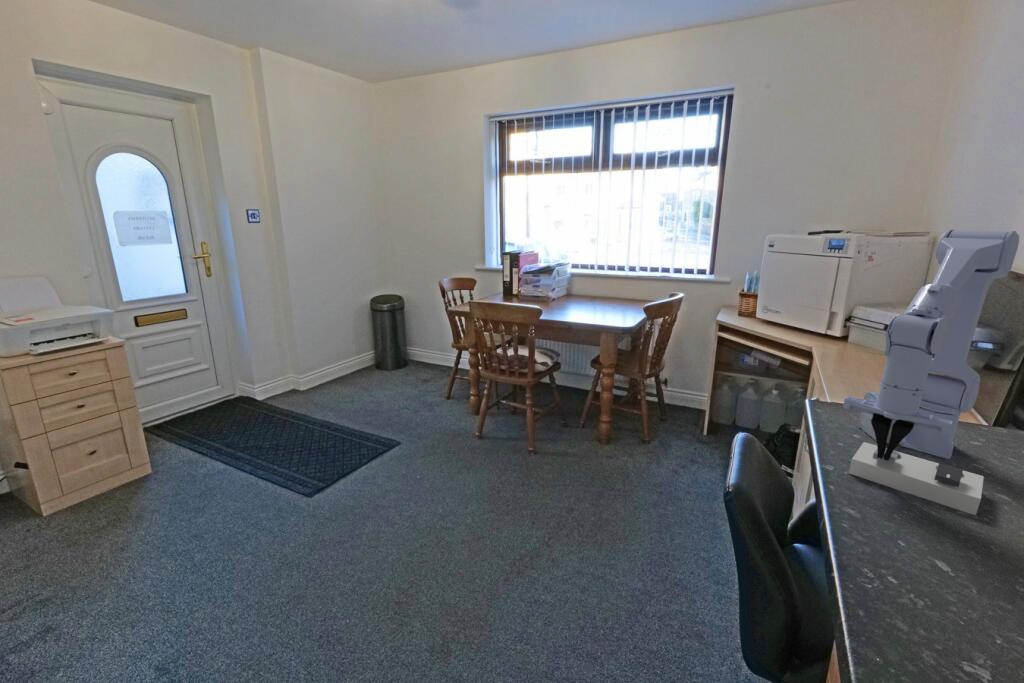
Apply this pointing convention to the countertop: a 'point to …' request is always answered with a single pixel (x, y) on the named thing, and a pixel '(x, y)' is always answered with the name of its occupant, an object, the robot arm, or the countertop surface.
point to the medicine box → (866, 419)
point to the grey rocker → (891, 460)
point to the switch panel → (918, 479)
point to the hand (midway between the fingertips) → (883, 457)
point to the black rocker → (948, 475)
